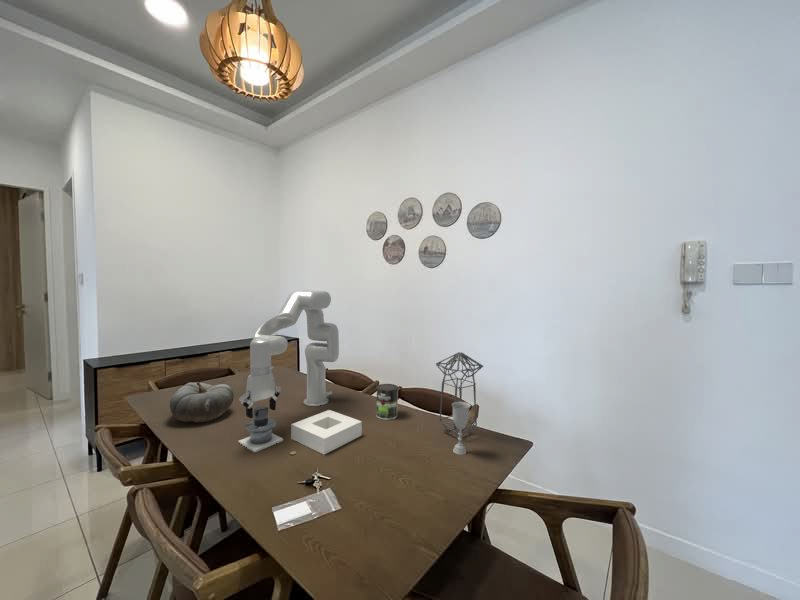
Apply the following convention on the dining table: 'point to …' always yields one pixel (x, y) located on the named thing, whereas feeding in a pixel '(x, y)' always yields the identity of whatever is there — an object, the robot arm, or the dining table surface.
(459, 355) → the geometric lantern
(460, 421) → the chalice
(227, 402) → the gourd
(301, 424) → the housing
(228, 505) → the dining table surface
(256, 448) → the mat
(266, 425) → the grey round knobbed piece
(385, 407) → the coffee can
